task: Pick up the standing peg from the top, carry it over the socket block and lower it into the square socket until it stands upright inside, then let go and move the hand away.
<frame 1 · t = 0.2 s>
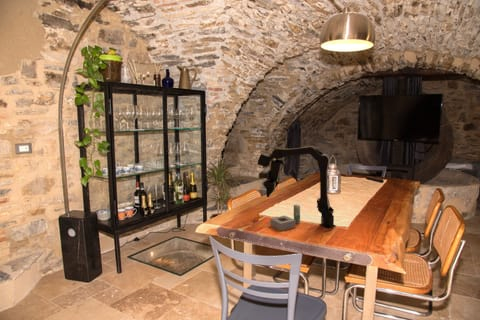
hand: (269, 194, 188), 15 cm above the table, tool pointing down, fingers open, 9 cm apart
socket block: (282, 226, 178), on the table
peg: (296, 222, 184), on the table
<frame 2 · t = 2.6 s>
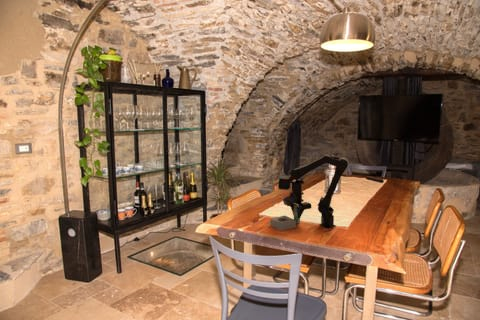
hand: (296, 217, 184), 3 cm above the table, tool pointing down, fingers closed on peg, 4 cm apart
peg: (296, 222, 184), on the table, touching gripper
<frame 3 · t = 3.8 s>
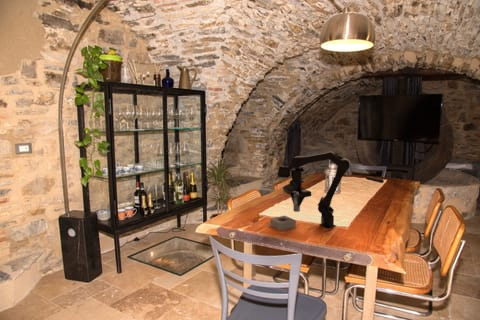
hand: (296, 205, 183), 10 cm above the table, tool pointing down, fingers closed on peg, 4 cm apart
peg: (296, 210, 183), point 7 cm above the table, touching gripper
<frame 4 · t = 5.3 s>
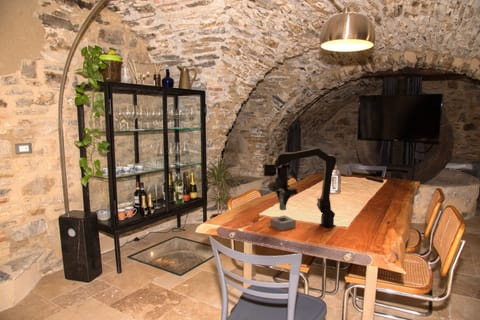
hand: (282, 203, 177), 13 cm above the table, tool pointing down, fingers closed on peg, 4 cm apart
peg: (282, 209, 177), point 10 cm above the table, touching gripper
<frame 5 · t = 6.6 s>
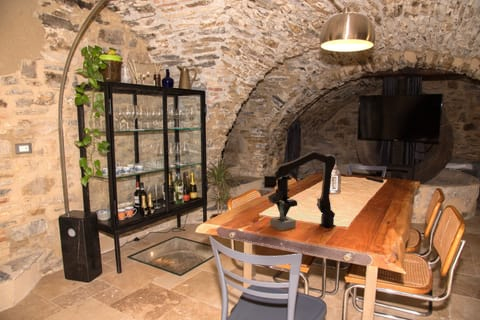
hand: (282, 215, 178), 6 cm above the table, tool pointing down, fingers closed on peg, 4 cm apart
peg: (282, 220, 178), point 3 cm above the table, touching gripper
when the fingers open (5 cm above the table, at t = 7.9 s): peg drops 1 cm, resting on socket block.
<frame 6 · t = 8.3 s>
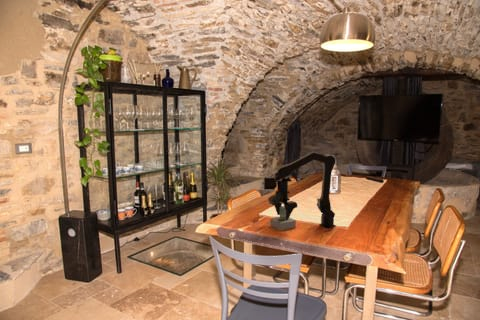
hand: (282, 216, 178), 5 cm above the table, tool pointing down, fingers open, 8 cm apart
peg: (282, 224, 178), point 1 cm above the table, touching socket block
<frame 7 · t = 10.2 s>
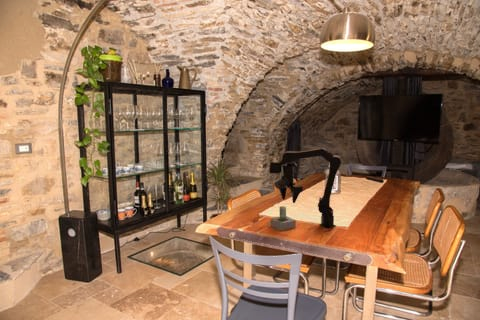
hand: (288, 201, 182), 13 cm above the table, tool pointing down, fingers open, 9 cm apart
nothing on the table moved.
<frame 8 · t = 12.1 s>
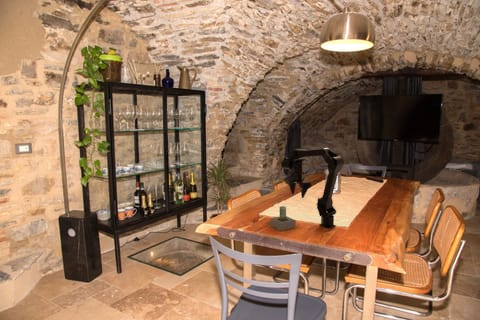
hand: (297, 196, 191), 13 cm above the table, tool pointing down, fingers open, 9 cm apart
nothing on the table moved.
at the end: peg 0.0 cm off-centre on the socket block, point 1.0 cm above the socket block's base; peg tilted 0°; the gripper is holding nothing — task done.
